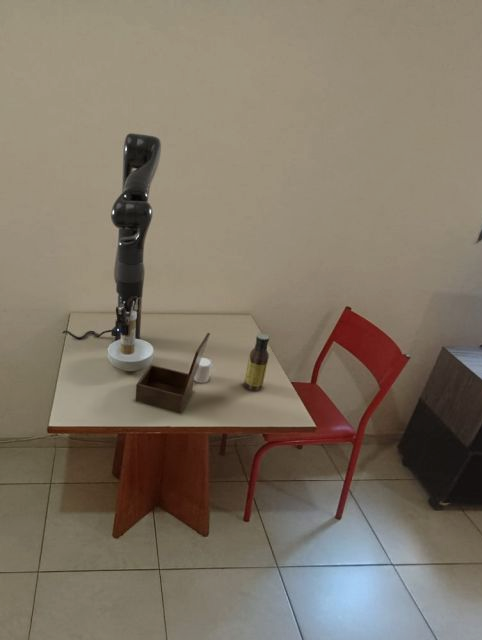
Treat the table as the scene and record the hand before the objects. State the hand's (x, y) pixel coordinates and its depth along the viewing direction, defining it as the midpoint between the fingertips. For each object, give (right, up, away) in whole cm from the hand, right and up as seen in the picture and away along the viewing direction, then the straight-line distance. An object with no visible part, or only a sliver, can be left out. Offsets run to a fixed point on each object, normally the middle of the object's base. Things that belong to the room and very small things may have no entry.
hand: (128, 330), depth 133 cm
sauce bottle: (+43, -17, +22) cm, 52 cm away
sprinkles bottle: (0, -6, +4) cm, 7 cm away
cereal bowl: (+1, -9, +31) cm, 32 cm away
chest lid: (+21, -10, +4) cm, 23 cm away
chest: (+12, -20, +15) cm, 28 cm away
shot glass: (+26, -14, +25) cm, 39 cm away
